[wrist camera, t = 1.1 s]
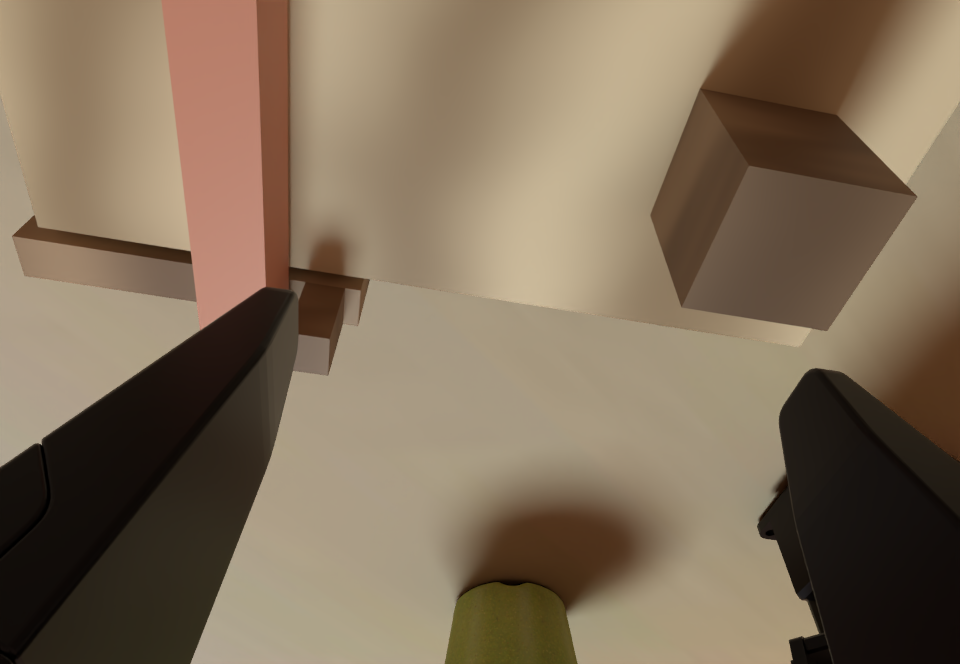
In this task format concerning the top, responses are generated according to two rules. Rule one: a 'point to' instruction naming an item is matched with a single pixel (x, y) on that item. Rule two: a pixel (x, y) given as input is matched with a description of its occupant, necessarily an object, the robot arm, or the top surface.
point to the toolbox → (188, 282)
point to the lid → (529, 144)
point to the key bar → (232, 144)
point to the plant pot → (510, 627)
